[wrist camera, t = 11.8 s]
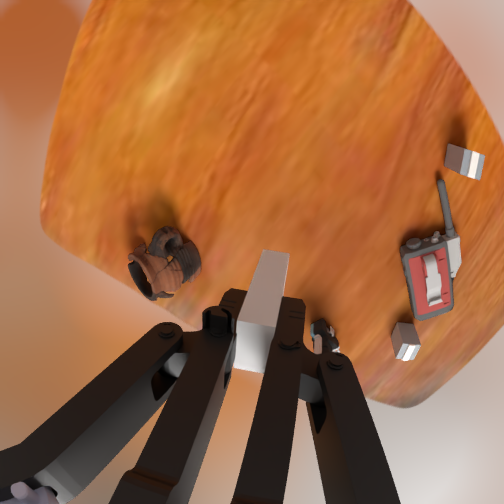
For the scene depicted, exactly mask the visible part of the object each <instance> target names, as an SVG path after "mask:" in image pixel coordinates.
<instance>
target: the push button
mask: <svg viewBox="0 0 504 504" xmlns="http://www.w3.org/2000/svg"><path fill="white" fill-rule="evenodd" d="M332 330H333V331H332ZM310 334H311V336H312V341H313V349H314V353H315V354H317V355H320V356H322V355H323V354H325V353H327V352H333V351H334V352H340V351H339V350H338V349H339V348H340V347H339V343H338V340H337V339H336V337H335V336H334V329H333V328H332V327H331V326H330V330H329V329H328V328H327V326H326V322H325V320H324V319H323V318H322V319H320V320H318V321H317V322H315V323H313V324H311V331H310ZM335 350H337V351H335Z"/></svg>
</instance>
